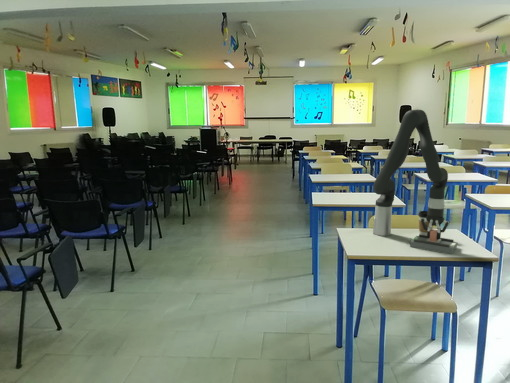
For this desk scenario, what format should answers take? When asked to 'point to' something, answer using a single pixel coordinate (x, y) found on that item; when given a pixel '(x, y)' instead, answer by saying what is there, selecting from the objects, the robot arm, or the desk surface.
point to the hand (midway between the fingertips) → (433, 238)
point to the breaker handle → (433, 236)
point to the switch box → (434, 244)
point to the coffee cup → (421, 215)
